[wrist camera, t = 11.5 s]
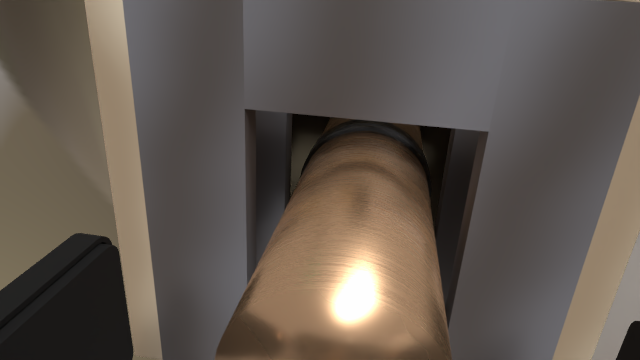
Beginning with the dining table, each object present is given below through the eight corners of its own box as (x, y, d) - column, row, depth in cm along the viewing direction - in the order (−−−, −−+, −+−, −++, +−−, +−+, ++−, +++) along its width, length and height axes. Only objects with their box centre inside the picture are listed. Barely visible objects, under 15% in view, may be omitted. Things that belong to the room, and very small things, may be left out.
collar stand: (577, -5, 17) (723, 8, 9) (507, 269, 22) (566, 426, 14) (211, -26, 19) (80, -30, 11) (221, 232, 24) (135, 355, 16)
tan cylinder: (429, 90, 19) (486, 306, 7) (415, 183, 21) (440, 497, 8) (328, 82, 20) (202, 267, 7) (323, 173, 21) (213, 454, 9)
